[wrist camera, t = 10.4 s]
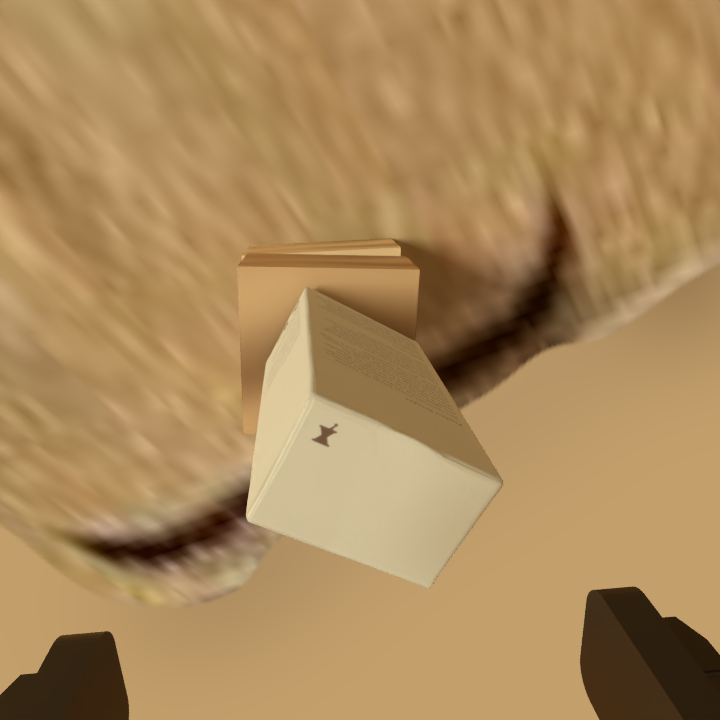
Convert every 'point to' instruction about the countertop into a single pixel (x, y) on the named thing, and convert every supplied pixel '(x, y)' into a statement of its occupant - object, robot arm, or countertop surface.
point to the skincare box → (364, 446)
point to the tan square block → (327, 276)
